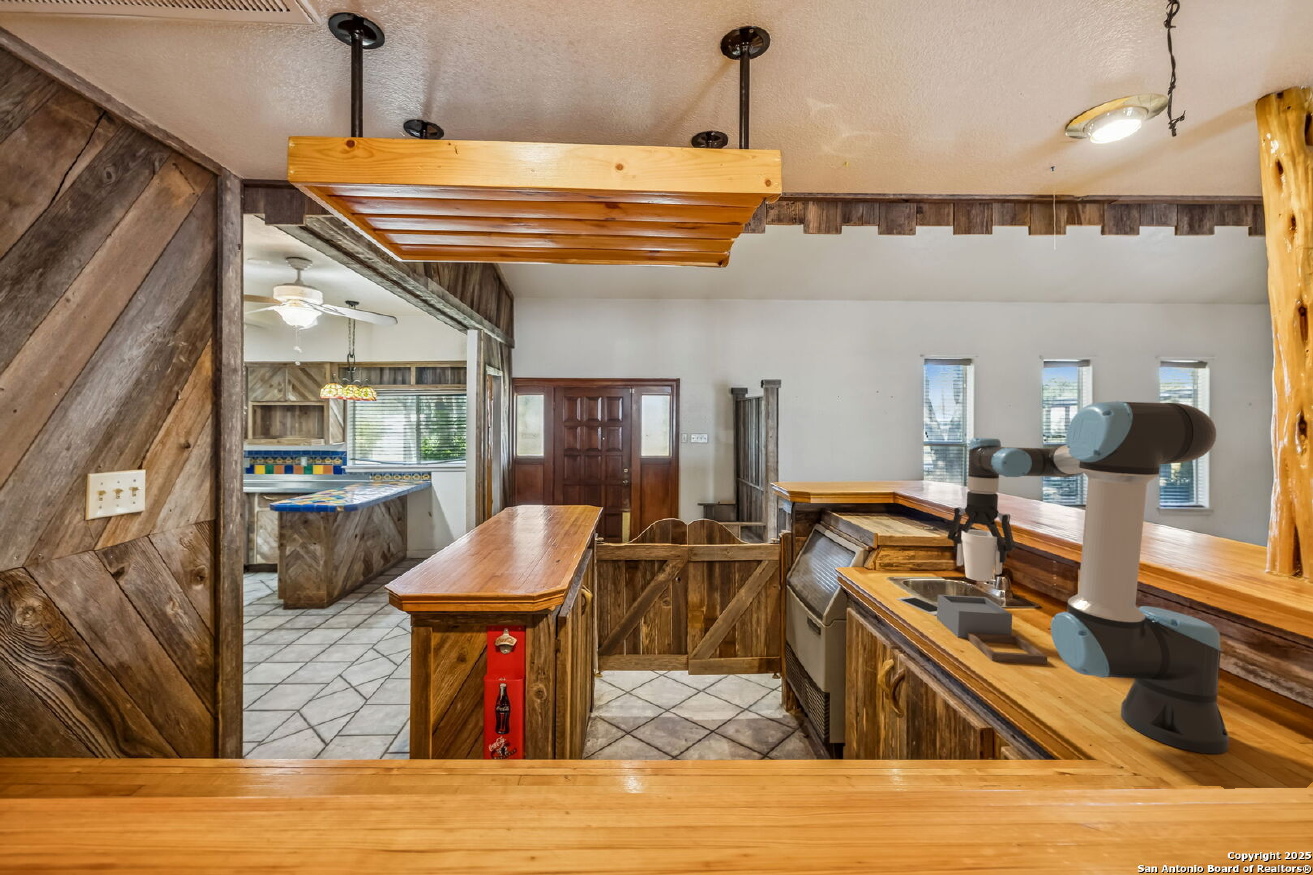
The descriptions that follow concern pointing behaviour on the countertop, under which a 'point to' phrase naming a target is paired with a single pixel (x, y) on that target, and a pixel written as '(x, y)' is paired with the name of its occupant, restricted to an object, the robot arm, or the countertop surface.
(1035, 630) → the countertop surface
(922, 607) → the smartphone
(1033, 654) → the walnut collar
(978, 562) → the foam cup
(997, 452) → the robot arm
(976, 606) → the charcoal stand
